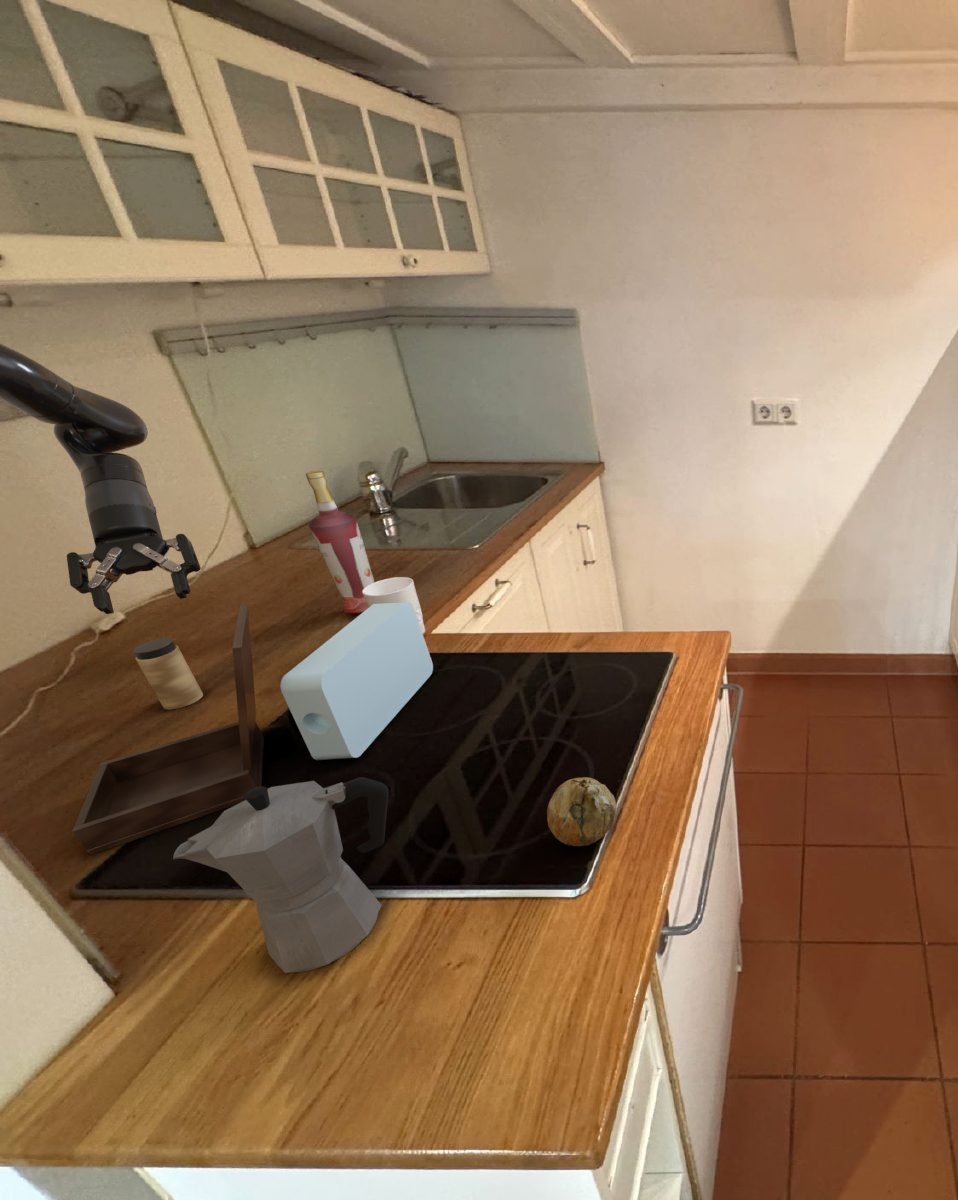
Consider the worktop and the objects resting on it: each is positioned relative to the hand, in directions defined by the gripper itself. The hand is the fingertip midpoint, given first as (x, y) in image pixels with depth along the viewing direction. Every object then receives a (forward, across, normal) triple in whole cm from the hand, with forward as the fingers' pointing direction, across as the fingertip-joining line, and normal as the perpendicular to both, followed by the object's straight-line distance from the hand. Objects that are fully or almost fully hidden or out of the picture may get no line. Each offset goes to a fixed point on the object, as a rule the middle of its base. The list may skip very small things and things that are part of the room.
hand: (145, 604), depth 101 cm
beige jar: (+15, 0, +6) cm, 16 cm away
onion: (+62, +42, -41) cm, 86 cm away
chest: (+35, +3, -14) cm, 37 cm away
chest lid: (+26, +13, -23) cm, 37 cm away
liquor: (+1, +26, +19) cm, 32 cm away
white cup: (+14, +31, +7) cm, 35 cm away
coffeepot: (+60, +18, -39) cm, 74 cm away
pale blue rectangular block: (+32, +25, -11) cm, 42 cm away
